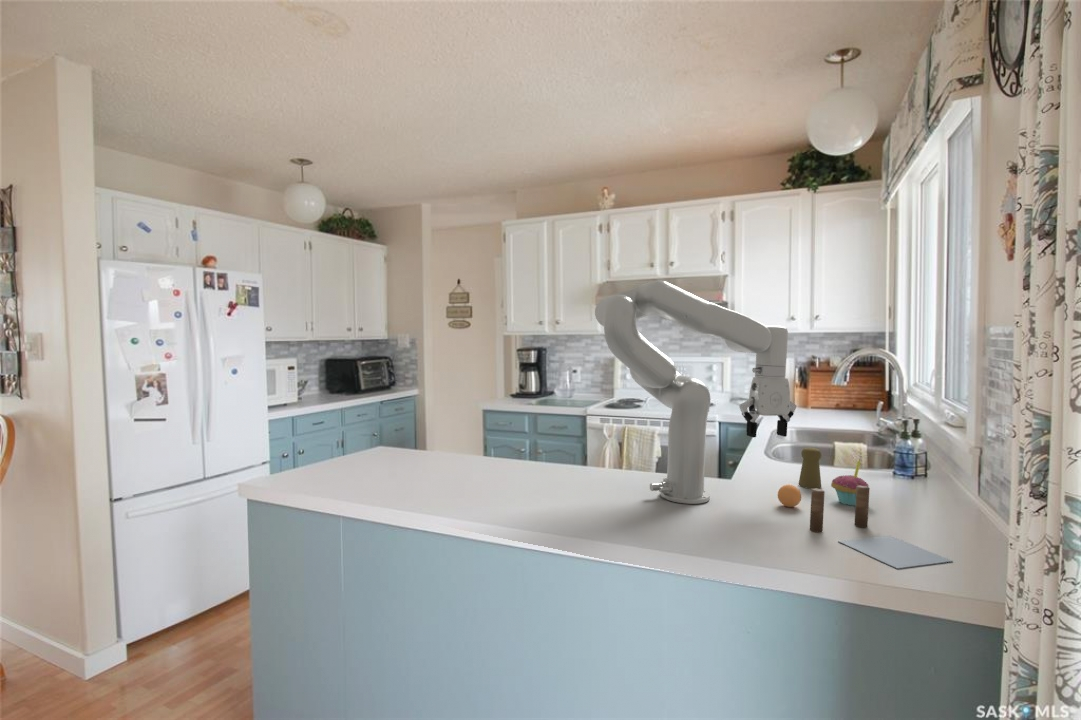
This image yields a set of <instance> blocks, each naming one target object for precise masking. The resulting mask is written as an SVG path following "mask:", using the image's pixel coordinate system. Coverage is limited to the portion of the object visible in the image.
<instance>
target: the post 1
mask: <svg viewBox="0 0 1081 720" xmlns="http://www.w3.org/2000/svg"><path fill="white" fill-rule="evenodd" d="M810 495H811V496H810V514H809V515H810V516H809V531H811V532H813V531H814V533H823V532H822V531H823V530H824V512H825V510H824V509H825V490H823V489H821V488H819V489H811V494H810Z"/></svg>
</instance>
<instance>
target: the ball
mask: <svg viewBox="0 0 1081 720" xmlns="http://www.w3.org/2000/svg"><path fill="white" fill-rule="evenodd" d="M777 499H778V501H779V502H780V503H781V504H782V505H783V506H785V507H787V508H794V507H796V506H798V505H799V504H800V503H801V501H802V493H801V491H800V489H799V488H798V487H796V486H795V485H793V484H784V485H782V486H781V487H780V488H779V489H778V491H777Z"/></svg>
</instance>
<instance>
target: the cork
mask: <svg viewBox="0 0 1081 720" xmlns="http://www.w3.org/2000/svg"><path fill="white" fill-rule="evenodd" d="M801 457H802V464H801V469H800V474H799V479H798V484H799V485H800V487H801V486H803V487H802V488H805V487H807V488H806V489H811V488H819V489H822V480H821V467H820V460H821V458H822V452H821V450H820V449H819V448H816V447H810V446H809V447H804V448H802V450H801ZM799 485H798V486H799Z"/></svg>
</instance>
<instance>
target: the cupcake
mask: <svg viewBox="0 0 1081 720" xmlns="http://www.w3.org/2000/svg"><path fill="white" fill-rule="evenodd" d="M861 459H862V458H859V460H857V463H856V467H855V470H854V475H839V476H837V477H835V478H833V479H832V480H831V485H830V487H831V488H833V489H834V490H835V492H836V495H837V498H838V502H839V503H840V502H841V503H840V504H843V505H846V504H848V505H847V506H856V487H857V486H867V487H870V485H869V483H868V482H867V481H866V480H864V479H862V478H860V477H858V473H859V469H860V465H861Z"/></svg>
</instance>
